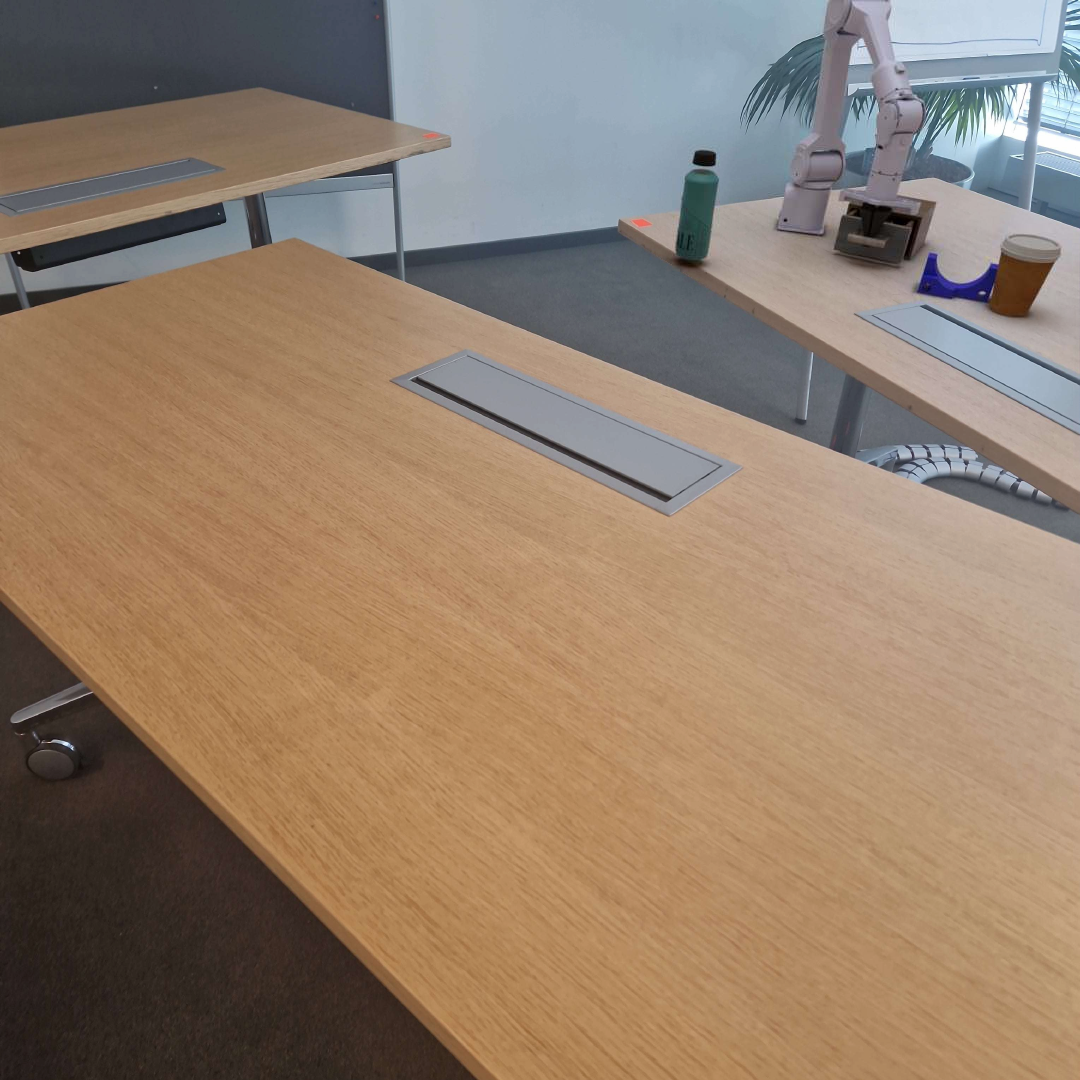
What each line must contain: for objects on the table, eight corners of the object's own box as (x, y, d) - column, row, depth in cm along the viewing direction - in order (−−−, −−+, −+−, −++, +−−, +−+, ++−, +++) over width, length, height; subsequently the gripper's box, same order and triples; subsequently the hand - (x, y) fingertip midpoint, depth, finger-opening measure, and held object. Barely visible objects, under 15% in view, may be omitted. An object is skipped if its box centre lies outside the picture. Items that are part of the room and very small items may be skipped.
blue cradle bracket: (917, 292, 161) (927, 259, 157) (919, 284, 164) (929, 252, 160) (987, 305, 157) (998, 272, 153) (988, 297, 160) (999, 264, 156)
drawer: (894, 270, 167) (904, 235, 163) (826, 256, 172) (834, 221, 168) (914, 247, 179) (924, 213, 175) (850, 234, 184) (858, 201, 180)
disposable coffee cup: (1033, 324, 150) (1060, 254, 143) (974, 311, 154) (998, 242, 147) (1040, 308, 157) (1067, 240, 150) (984, 295, 161) (1007, 229, 153)
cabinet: (909, 260, 175) (922, 217, 170) (838, 245, 181) (848, 203, 176) (924, 243, 184) (936, 202, 179) (856, 229, 190) (866, 189, 185)
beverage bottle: (709, 259, 170) (727, 149, 158) (703, 270, 165) (720, 157, 153) (676, 254, 172) (691, 145, 160) (669, 265, 167) (684, 152, 155)
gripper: (841, 169, 162) (824, 242, 170) (922, 183, 156) (900, 258, 164) (852, 161, 167) (834, 234, 175) (930, 175, 161) (909, 249, 169)
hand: (867, 245), depth 170 cm, fingers closed, pressing on drawer
